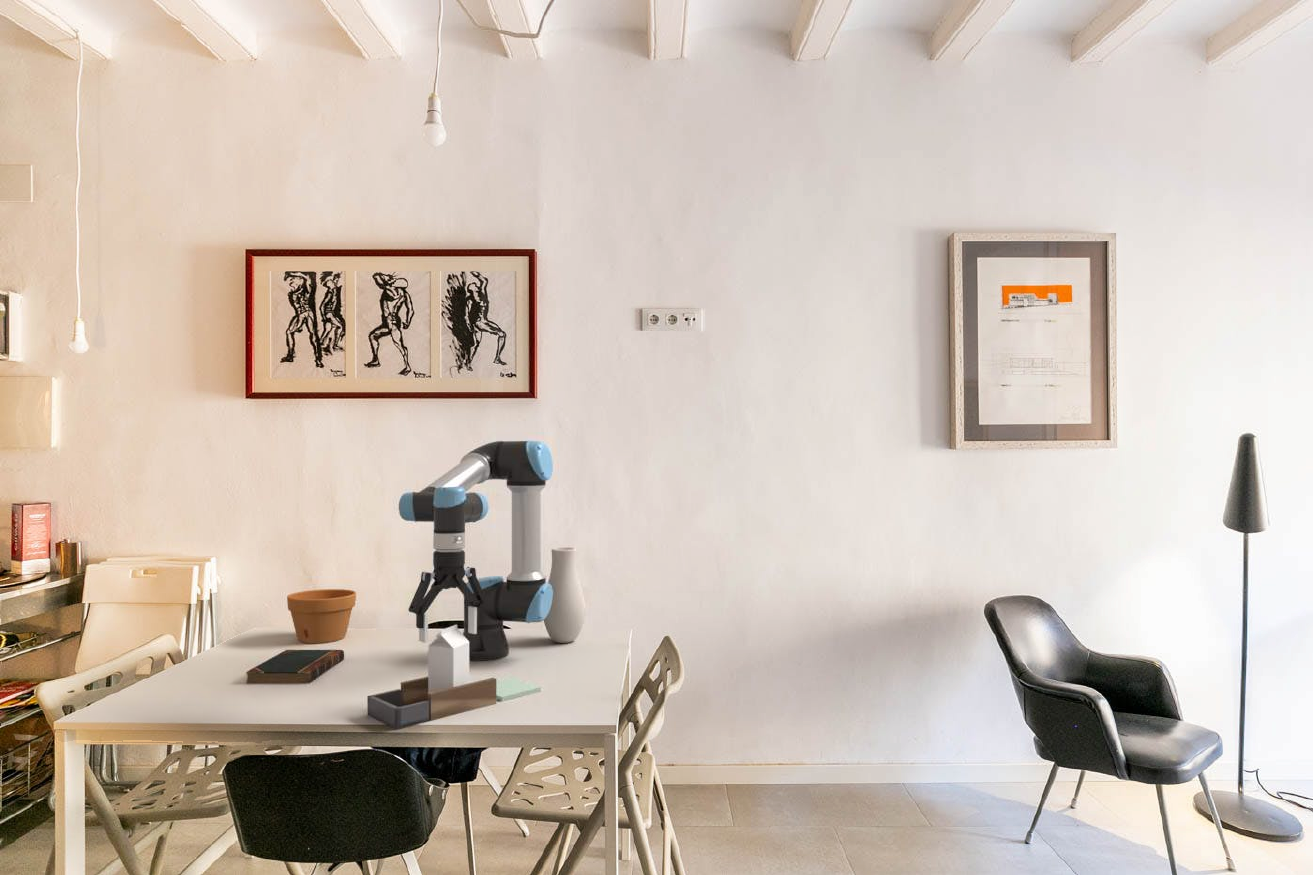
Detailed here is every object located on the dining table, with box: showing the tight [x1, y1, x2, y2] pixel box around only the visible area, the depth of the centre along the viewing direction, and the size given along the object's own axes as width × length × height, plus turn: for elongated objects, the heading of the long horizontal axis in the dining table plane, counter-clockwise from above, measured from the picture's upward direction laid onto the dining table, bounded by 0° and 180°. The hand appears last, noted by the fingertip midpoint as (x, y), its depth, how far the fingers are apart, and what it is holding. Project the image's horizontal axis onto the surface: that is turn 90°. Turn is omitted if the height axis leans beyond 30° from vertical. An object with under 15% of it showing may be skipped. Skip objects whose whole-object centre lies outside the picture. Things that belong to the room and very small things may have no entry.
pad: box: [496, 677, 542, 702], centre depth 215 cm, size 13×12×1 cm
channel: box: [400, 676, 497, 721], centre depth 203 cm, size 14×18×6 cm
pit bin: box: [366, 688, 430, 730], centre depth 194 cm, size 14×8×4 cm, turn 45°
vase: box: [543, 546, 586, 644], centre depth 270 cm, size 14×14×30 cm
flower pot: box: [286, 588, 357, 644], centre depth 274 cm, size 21×21×15 cm
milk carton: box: [427, 624, 470, 693], centre depth 203 cm, size 7×7×19 cm
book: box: [245, 649, 345, 684], centre depth 234 cm, size 17×4×25 cm
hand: (448, 637), depth 203 cm, fingers open, 13 cm apart
